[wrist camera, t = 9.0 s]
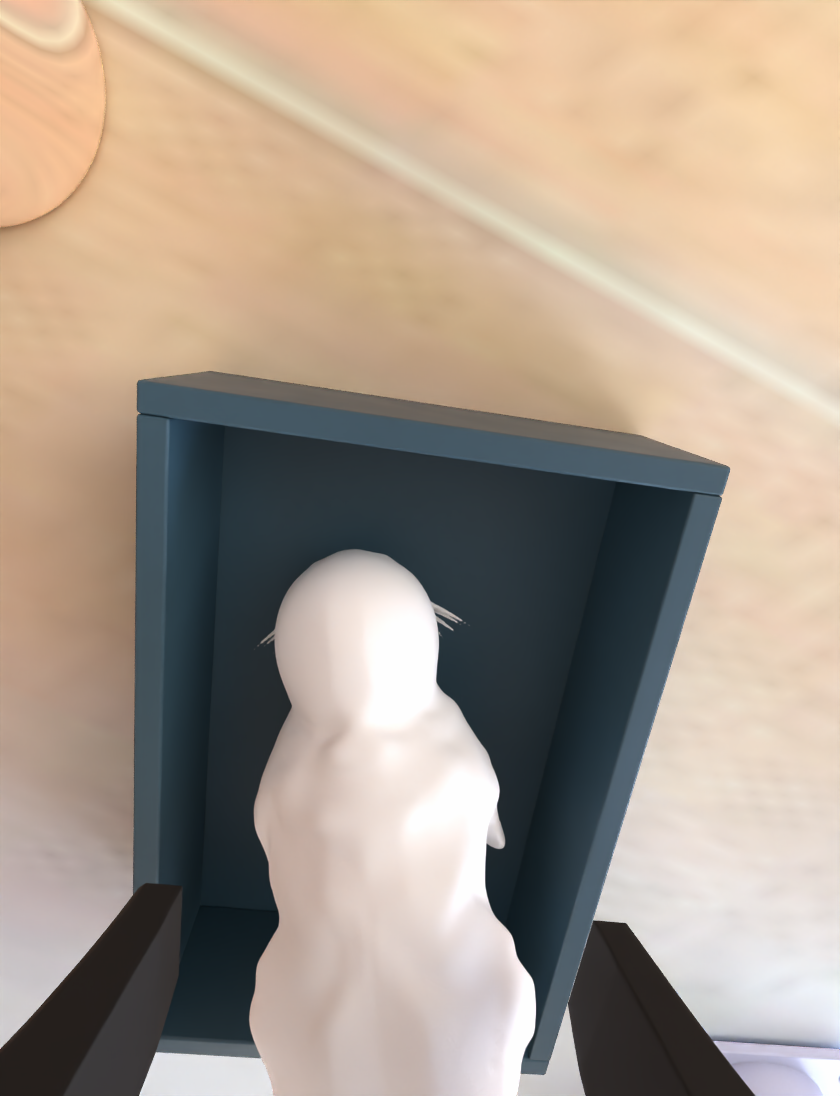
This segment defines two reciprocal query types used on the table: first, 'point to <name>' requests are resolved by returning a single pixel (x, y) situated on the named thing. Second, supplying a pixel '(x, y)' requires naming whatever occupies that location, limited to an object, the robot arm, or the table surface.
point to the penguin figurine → (380, 857)
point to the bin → (463, 659)
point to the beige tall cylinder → (46, 104)
